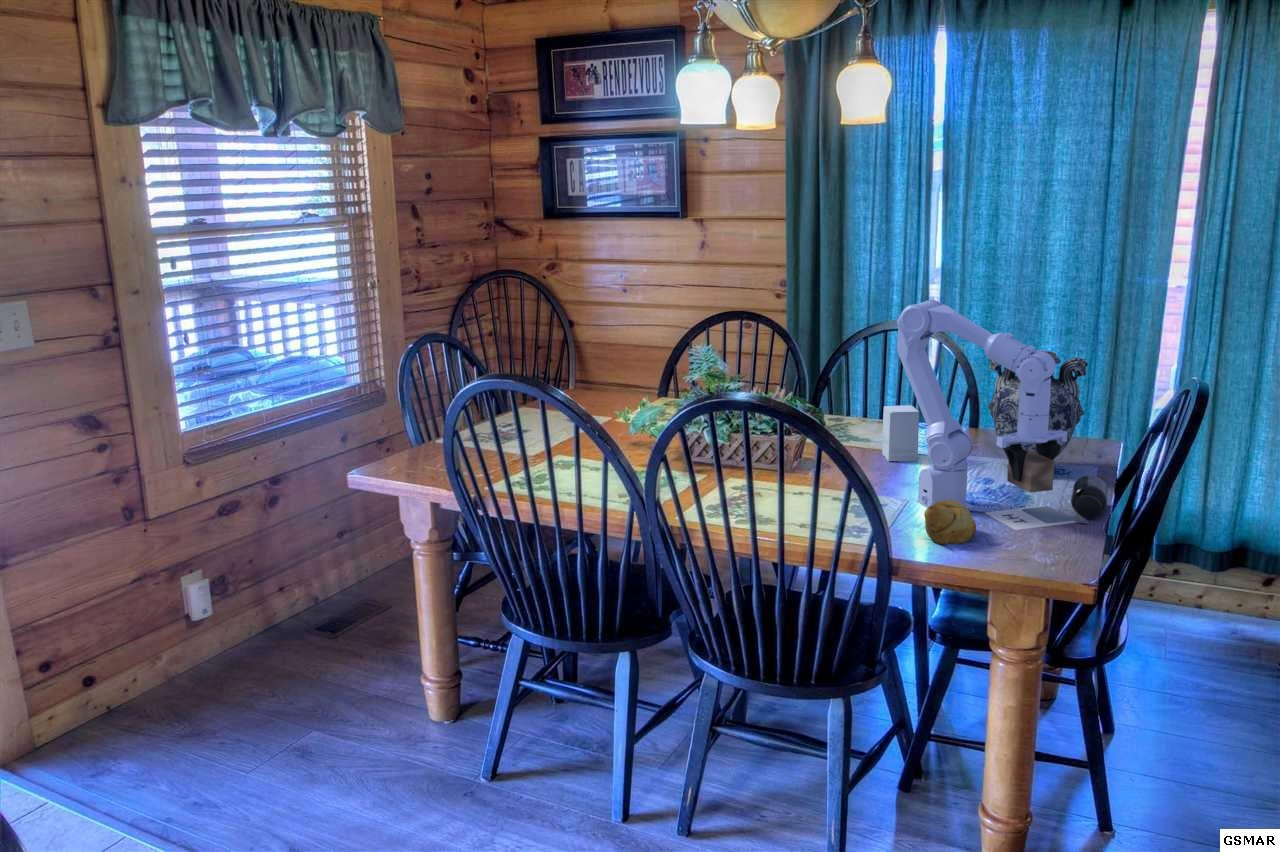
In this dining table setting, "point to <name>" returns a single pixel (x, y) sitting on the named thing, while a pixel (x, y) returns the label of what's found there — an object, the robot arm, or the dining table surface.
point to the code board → (1021, 519)
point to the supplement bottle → (1089, 496)
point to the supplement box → (900, 433)
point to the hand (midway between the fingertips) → (1029, 478)
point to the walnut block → (1034, 473)
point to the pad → (1047, 514)
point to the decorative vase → (1062, 400)
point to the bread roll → (949, 523)
